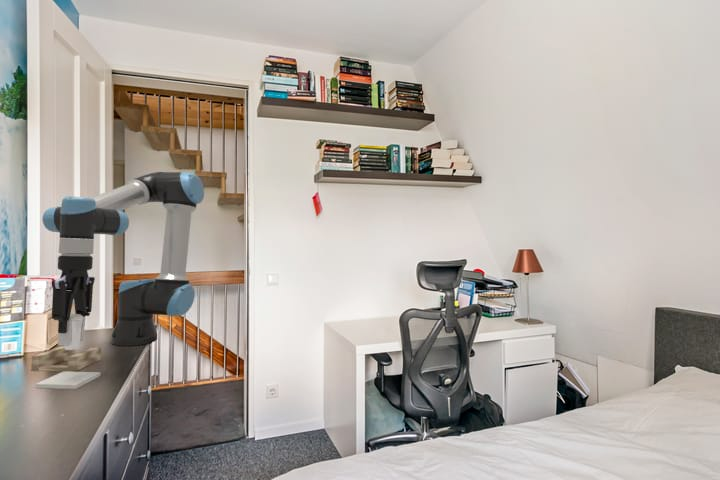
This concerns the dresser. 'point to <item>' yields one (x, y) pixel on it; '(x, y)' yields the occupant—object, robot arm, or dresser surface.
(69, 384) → the pad
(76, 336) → the milkshake
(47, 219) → the robot arm
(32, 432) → the dresser surface
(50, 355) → the pocket holder
